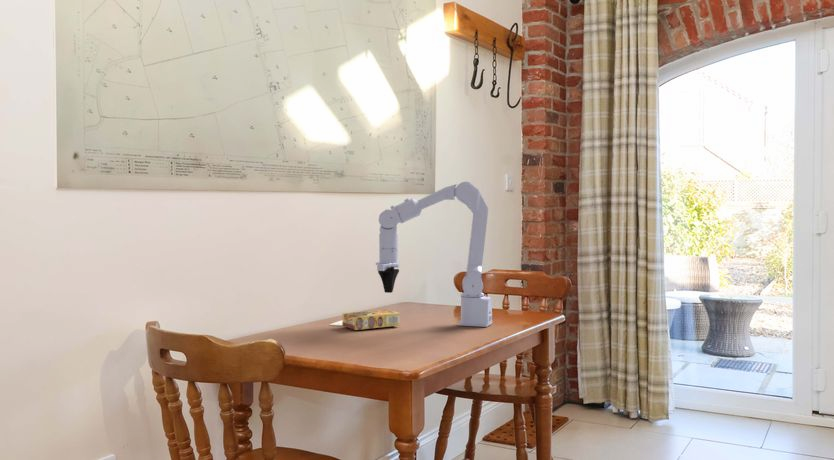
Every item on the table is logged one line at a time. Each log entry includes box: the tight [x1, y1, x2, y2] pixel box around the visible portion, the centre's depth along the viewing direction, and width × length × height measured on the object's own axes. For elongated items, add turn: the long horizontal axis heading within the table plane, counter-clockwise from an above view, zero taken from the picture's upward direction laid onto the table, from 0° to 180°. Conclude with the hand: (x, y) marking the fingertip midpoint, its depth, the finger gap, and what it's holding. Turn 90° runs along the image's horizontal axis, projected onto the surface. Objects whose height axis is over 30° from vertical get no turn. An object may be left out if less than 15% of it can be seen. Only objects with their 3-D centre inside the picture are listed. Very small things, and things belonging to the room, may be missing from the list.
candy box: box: [341, 309, 401, 331], centre depth 235 cm, size 9×4×15 cm
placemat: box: [328, 319, 344, 327], centre depth 244 cm, size 14×16×1 cm
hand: (388, 292), depth 241 cm, fingers closed
